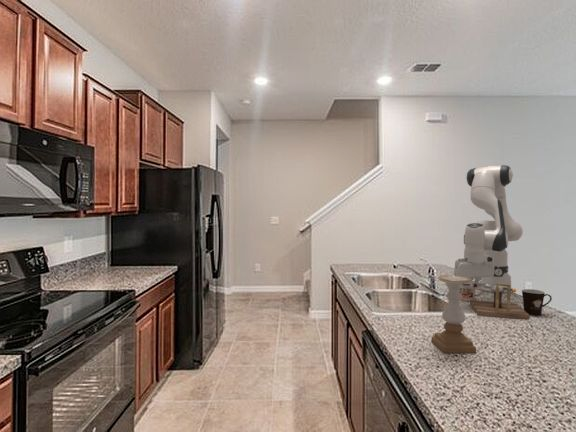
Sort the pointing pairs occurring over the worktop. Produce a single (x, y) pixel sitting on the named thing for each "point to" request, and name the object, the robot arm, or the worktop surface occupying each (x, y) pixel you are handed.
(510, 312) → the stand
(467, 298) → the teacup with lid
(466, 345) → the candle holder
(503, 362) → the worktop surface
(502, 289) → the grey rod with dome
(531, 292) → the coffee mug
